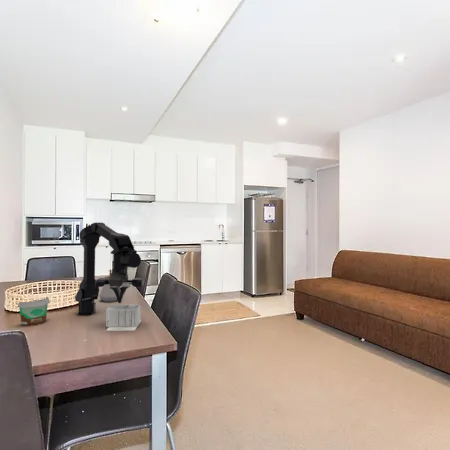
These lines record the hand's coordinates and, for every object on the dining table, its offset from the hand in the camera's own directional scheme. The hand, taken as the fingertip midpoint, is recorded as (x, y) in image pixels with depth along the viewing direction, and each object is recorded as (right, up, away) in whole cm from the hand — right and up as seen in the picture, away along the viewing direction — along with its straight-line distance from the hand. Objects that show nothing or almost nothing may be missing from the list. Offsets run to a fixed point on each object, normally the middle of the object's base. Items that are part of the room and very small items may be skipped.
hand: (119, 302), depth 134 cm
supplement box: (-5, -5, 0) cm, 7 cm away
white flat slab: (+2, -10, 0) cm, 10 cm away
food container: (-35, -9, +1) cm, 37 cm away
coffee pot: (-21, -9, +48) cm, 53 cm away
